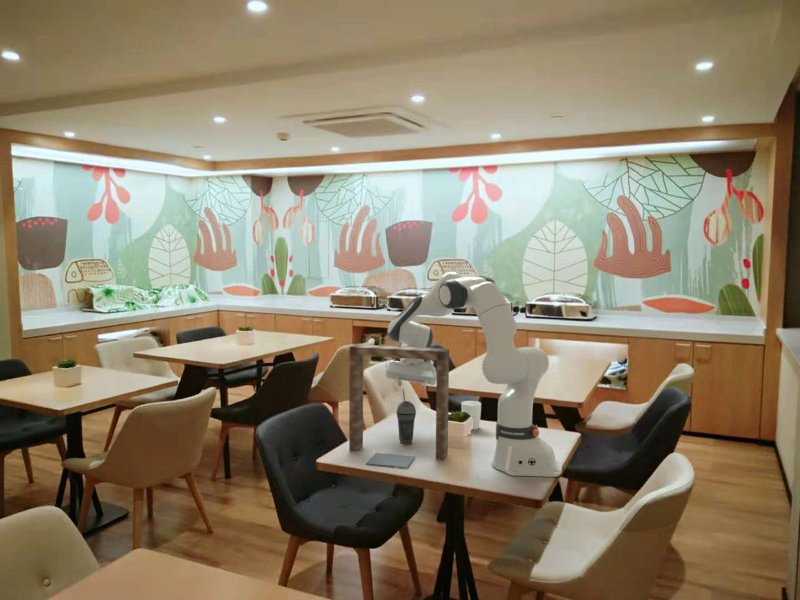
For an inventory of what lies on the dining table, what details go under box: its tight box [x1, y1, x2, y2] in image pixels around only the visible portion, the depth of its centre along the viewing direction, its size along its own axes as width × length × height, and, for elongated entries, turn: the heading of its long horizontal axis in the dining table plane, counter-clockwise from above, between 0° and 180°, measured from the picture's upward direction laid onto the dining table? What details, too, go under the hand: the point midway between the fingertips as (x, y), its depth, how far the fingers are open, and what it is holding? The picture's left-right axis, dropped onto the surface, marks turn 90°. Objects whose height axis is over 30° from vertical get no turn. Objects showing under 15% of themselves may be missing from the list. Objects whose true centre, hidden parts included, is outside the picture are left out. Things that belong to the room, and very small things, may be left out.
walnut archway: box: [348, 343, 450, 461], centre depth 208 cm, size 34×6×37 cm, turn 75°
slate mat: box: [365, 452, 416, 469], centre depth 201 cm, size 14×11×1 cm
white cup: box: [461, 400, 482, 431], centre depth 240 cm, size 8×8×10 cm
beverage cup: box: [395, 388, 417, 446], centre depth 219 cm, size 7×7×20 cm
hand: (411, 386), depth 230 cm, fingers open, 8 cm apart
